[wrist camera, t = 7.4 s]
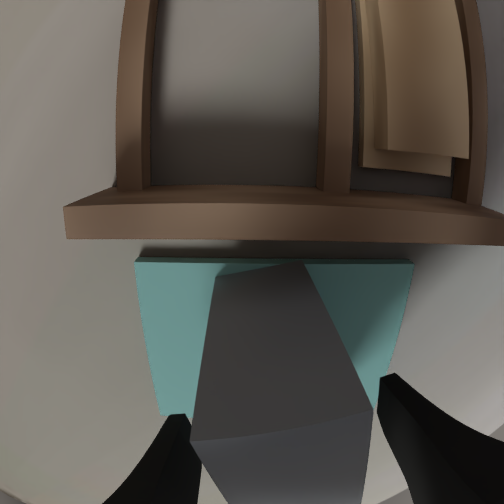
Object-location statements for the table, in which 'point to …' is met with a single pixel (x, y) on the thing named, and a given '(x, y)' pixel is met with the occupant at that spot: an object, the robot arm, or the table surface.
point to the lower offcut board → (366, 119)
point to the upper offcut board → (418, 77)
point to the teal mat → (206, 269)
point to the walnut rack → (287, 197)
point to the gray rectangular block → (279, 394)
